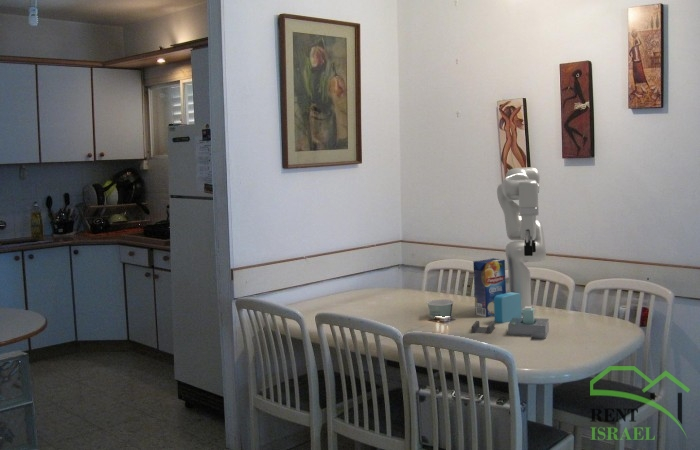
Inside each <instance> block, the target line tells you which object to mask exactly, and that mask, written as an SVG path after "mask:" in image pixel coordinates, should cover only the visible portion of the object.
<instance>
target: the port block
mask: <svg viewBox="0 0 700 450" xmlns="http://www.w3.org/2000/svg"><path fill="white" fill-rule="evenodd" d="M549 323H550V322H549V318H537V317H536V318H535V317H534V323H523V317H522V318H512V320H511V321H509V322H508V325H507V326H508V327H507V328H508V335H509V336H525V337H526V336H527V337H528V336H530V337H531V339H545V340H546V338H547V336H548V334H549V332H550V325H549Z"/></svg>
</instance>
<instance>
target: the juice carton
mask: <svg viewBox="0 0 700 450" xmlns="http://www.w3.org/2000/svg"><path fill="white" fill-rule="evenodd" d="M505 260H506V259H501V258H487V259H480V260H473V282H474V283H473V284H474V286H473V287H474V290H473V291H474V308H475V310H474V311H475V312H474V313H475V315H477V316H481V317H484V318H489V317H493V316H494V317H495V314H494V297H495V296H496V295H501V294H505V293H507V291H506V290H507V287H506V285H507V284H506V263H505V262H506V261H505Z"/></svg>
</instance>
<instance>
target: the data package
mask: <svg viewBox="0 0 700 450" xmlns="http://www.w3.org/2000/svg"><path fill="white" fill-rule="evenodd" d="M494 314H495V316H494V322H495V323H500V324H505V323H510V321H511V320H512V318H523V314H521V295H520V294H519V293H513V292H509V291H508V292H506V293H505V294H501V295H496V296H495V297H494Z"/></svg>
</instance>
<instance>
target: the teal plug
mask: <svg viewBox="0 0 700 450" xmlns="http://www.w3.org/2000/svg"><path fill="white" fill-rule="evenodd" d="M532 307H533V306H532ZM532 307H526V306H525V308H523V310H522V311H523V314H522V318H523V323H534V318H535V311H534V308H535V307H534V308H532Z"/></svg>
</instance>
